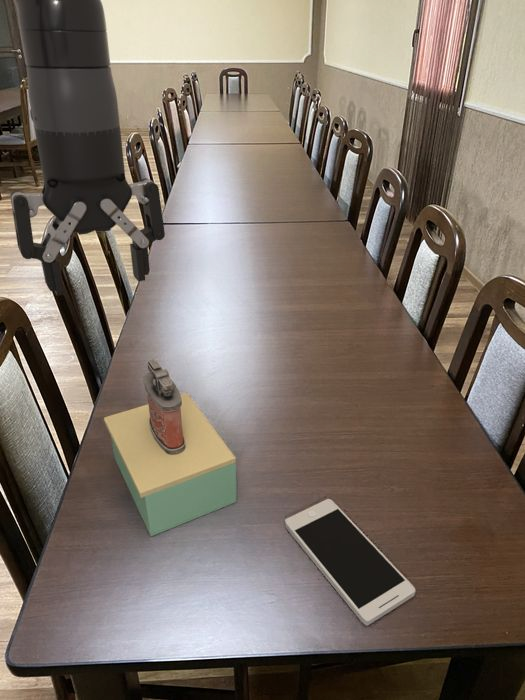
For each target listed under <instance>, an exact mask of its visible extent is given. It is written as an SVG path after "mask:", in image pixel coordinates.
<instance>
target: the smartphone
mask: <svg viewBox="0 0 525 700" xmlns="http://www.w3.org/2000/svg"><path fill="white" fill-rule="evenodd" d="M284 527H285V528H286V530H287V531H288V532H289V534H290V535H291V536H292V537H293V538H294V540H295V541H296V542H297V544H298V545H299V546H300V547H301V548H302V550H303V551H304V553H305V554H306V555H307V556H308V557H309V559H310V560H311V561H312V562H313V563H314V564H315V566H316V568H318V570H319V571H320V572H321V574H323V576H324V577H325V579H326V580H327V581H328V582H329V583H330V585H331V586H332V587H333V588H334V590H335V591H336V592H337V593H338V594H339V596H340V597H341V598H342V600H344V602H345V603H346V605H347V606H348V607H349V608H350V609H351V611H352V612H353V613H354V615H355V616H356V617H357V619H359V620H360V622H361V623H362V624H363V625H364V626H366V627H367V626H370V625H371V624H373V623H374V622H376V621H377V620H379V619H381V618H382V617H384V616H385V615H387V614H388V613H390V612H392V611H393V610H395V609H397V608H398V607H400V606H401V605H402V604H404V603H406V602H407V601H409V600H410V599H412V598H413V597H415V594H416V588H415V586H414V585H413V584H412V582H410V581H409V579H408V578H406V577H405V576H404V575H403V574H402V572H401V571H400V570H399V569H398V568H397V567H396V566H395V565H394V564H393V563H392V561H390V560H389V558H388V557H387V556H385V554H384V553H383V552H382V551H381V550H380V549H379V548H378V547H377V546H376V545H375V544H374V543H373V542H372V541H371V539H369V537H368V536H366V535H365V534H364V532H363V531H362V530H361V529H360V528H359V527H358V526H357V525H356V523H355V522H353V521H352V520H351V518H350V517H349V516H348V515H347V514H346V513H345V512H344V511H343V510H342V509H341V508H340V507H339V506H338V505H337V504H336V502H335V501H334V500H332V499H331V498H326V499H325V500H323V501H320V502H319V503H316V504H314V505H312V506H310V507H308V508H306V509H304V510H301V511H299V512H297V513H295V514H293V515H291V516H289V517H287V518H285V519H284Z"/></svg>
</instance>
